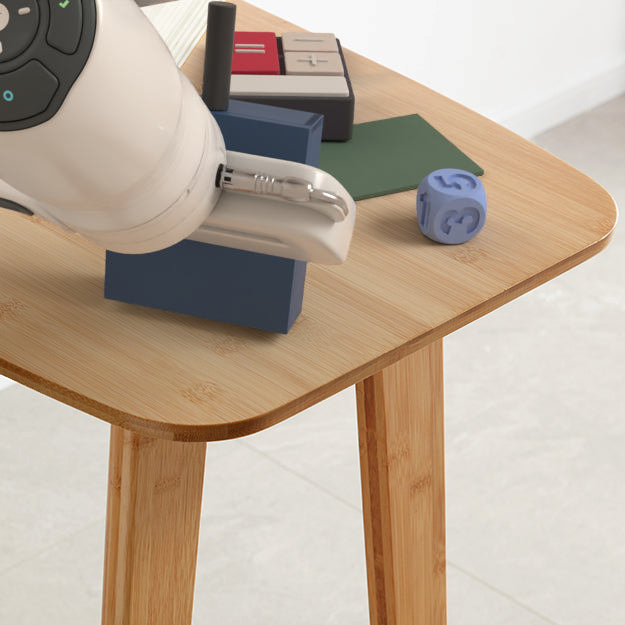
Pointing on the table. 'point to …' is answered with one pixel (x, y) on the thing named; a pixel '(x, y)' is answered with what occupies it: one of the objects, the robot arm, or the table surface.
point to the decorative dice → (451, 206)
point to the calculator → (295, 76)
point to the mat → (390, 156)
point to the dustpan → (214, 260)
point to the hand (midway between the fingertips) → (197, 227)
